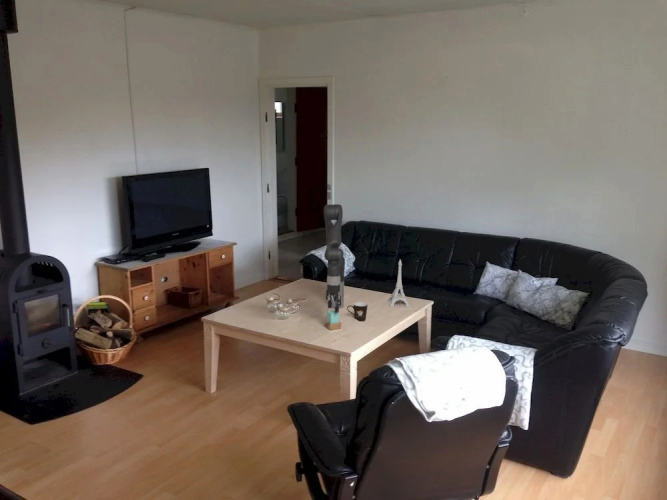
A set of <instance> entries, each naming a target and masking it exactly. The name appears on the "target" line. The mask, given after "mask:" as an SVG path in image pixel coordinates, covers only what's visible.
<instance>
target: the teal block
mask: <svg viewBox="0 0 667 500" xmlns="http://www.w3.org/2000/svg"><path fill="white" fill-rule="evenodd" d="M339 319H340V311H339V312H338V313H335V309H333V310H327V311H326V321H328V322H329V323H331V324H333V323H339V322H340V320H339Z"/></svg>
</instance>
